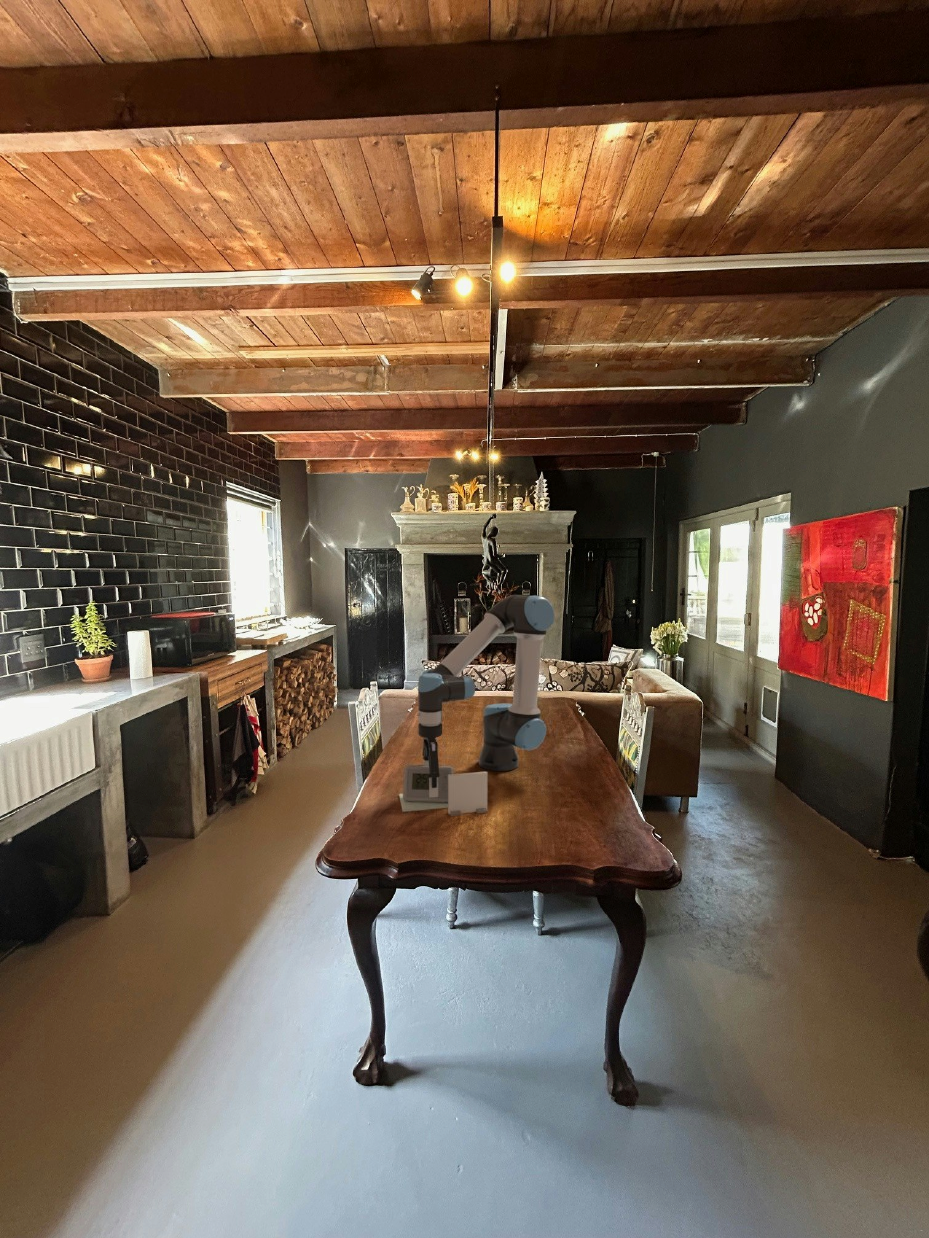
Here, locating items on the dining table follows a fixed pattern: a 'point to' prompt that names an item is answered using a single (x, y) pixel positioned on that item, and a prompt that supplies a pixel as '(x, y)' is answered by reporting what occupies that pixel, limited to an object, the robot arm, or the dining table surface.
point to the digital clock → (425, 784)
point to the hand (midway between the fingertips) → (430, 788)
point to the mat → (420, 805)
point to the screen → (467, 793)
